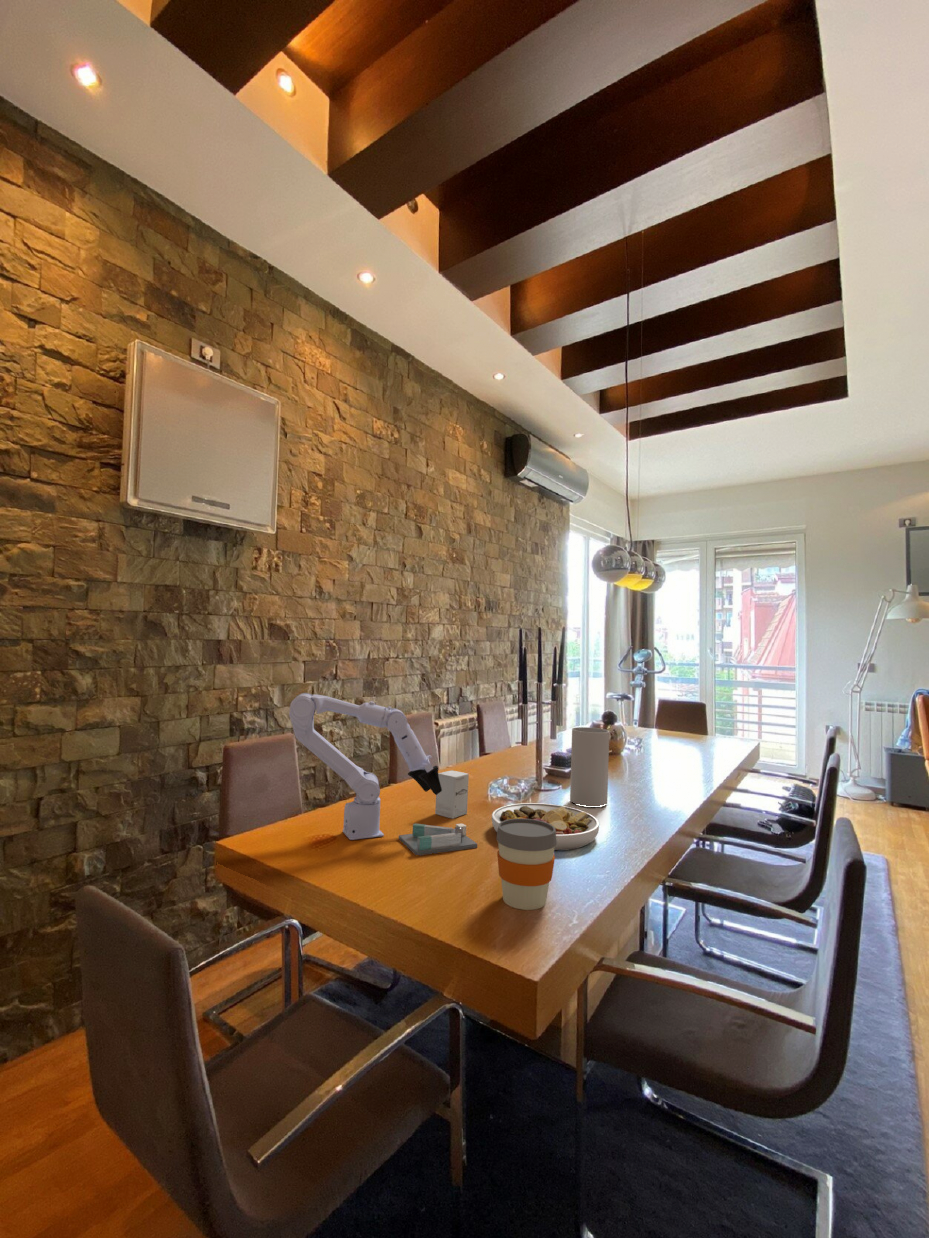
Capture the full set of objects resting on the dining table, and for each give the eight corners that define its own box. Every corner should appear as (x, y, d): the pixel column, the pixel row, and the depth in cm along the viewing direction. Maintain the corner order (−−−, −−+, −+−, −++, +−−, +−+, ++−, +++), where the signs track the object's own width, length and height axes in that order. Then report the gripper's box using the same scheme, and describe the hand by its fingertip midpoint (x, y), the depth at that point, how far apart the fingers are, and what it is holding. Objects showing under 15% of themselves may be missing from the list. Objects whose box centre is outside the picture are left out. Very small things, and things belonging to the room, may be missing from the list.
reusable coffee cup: (567, 904, 119) (569, 830, 120) (521, 919, 112) (524, 841, 112) (527, 882, 129) (529, 815, 130) (482, 895, 122) (484, 823, 122)
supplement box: (453, 819, 174) (454, 777, 174) (434, 814, 178) (436, 772, 179) (467, 814, 180) (469, 773, 180) (449, 809, 184) (450, 769, 185)
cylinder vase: (562, 802, 198) (564, 728, 199) (584, 796, 206) (586, 726, 207) (593, 810, 189) (595, 733, 190) (614, 804, 197) (616, 731, 198)
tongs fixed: (419, 850, 144) (419, 835, 144) (414, 845, 147) (415, 831, 147) (465, 844, 150) (466, 830, 150) (460, 839, 153) (460, 826, 153)
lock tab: (459, 835, 155) (459, 826, 155) (455, 832, 157) (455, 824, 157) (466, 834, 156) (466, 825, 156) (462, 832, 158) (462, 823, 158)
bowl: (499, 815, 181) (500, 789, 181) (597, 824, 175) (598, 798, 175) (482, 847, 152) (484, 817, 152) (600, 860, 145) (600, 828, 146)
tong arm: (412, 835, 153) (412, 824, 154) (414, 834, 155) (414, 823, 155) (450, 840, 151) (451, 829, 151) (452, 838, 153) (452, 827, 153)
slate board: (416, 855, 143) (416, 851, 143) (398, 839, 155) (398, 835, 155) (477, 847, 150) (477, 843, 150) (455, 832, 162) (456, 828, 162)
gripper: (431, 742, 156) (455, 785, 157) (413, 740, 169) (435, 780, 170) (410, 756, 153) (434, 800, 154) (393, 753, 166) (415, 794, 167)
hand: (433, 791), depth 162 cm, fingers open, 7 cm apart
